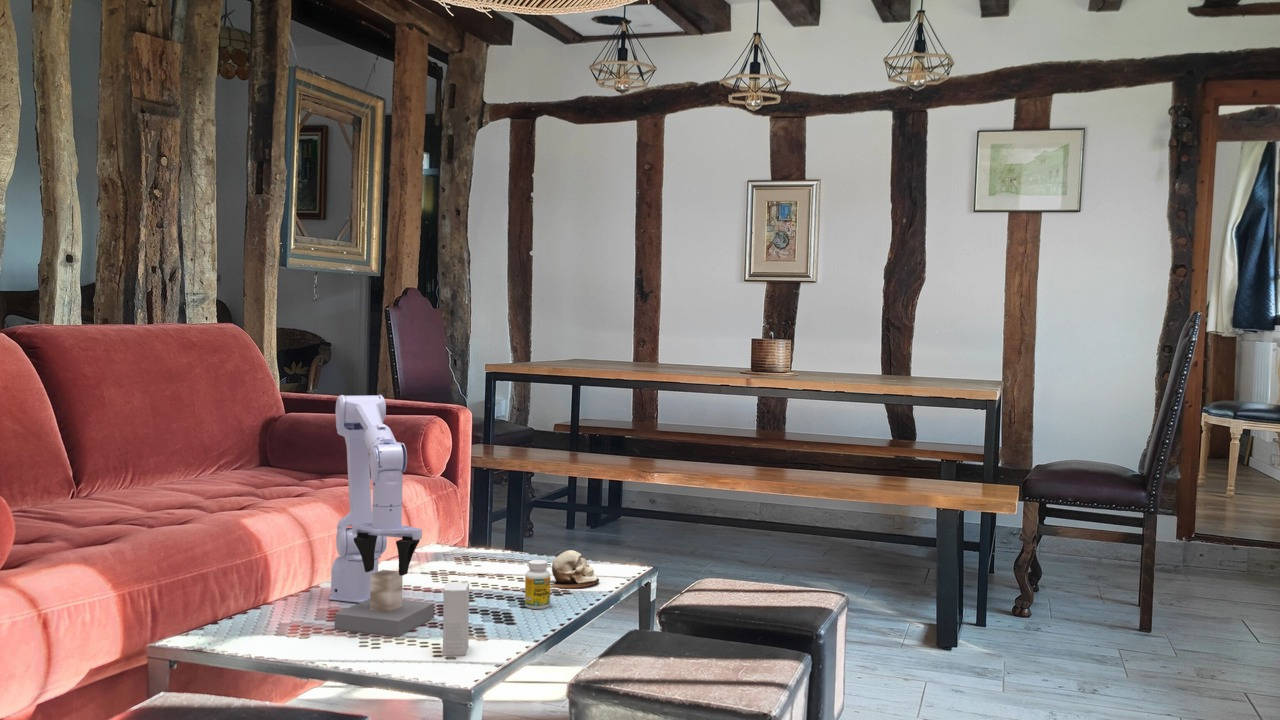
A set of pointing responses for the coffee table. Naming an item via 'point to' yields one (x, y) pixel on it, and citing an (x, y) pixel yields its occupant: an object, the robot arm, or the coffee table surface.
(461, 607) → the skincare box
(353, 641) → the coffee table surface
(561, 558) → the skull
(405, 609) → the riser block
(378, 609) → the cream block
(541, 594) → the supplement bottle
